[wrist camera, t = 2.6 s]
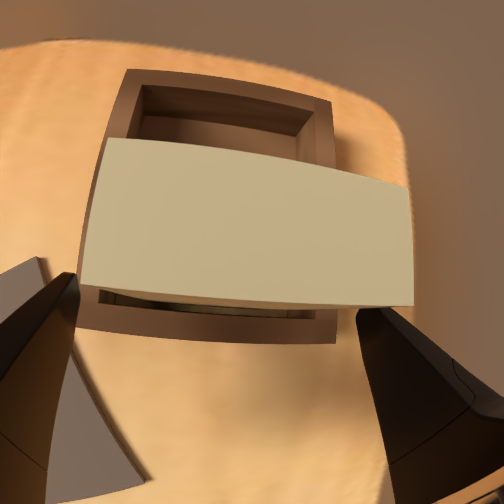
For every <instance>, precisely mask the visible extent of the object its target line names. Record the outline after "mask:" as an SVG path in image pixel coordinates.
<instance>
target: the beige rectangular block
mask: <svg viewBox="0 0 504 504" xmlns="http://www.w3.org/2000/svg"><path fill="white" fill-rule="evenodd" d="M80 284H83V285H87V286H90V287H94V288H98V289H102V290H106V291H110V292H114V293H118V294H122V295H126V296H131V297H135V298H139V299H143V300H148V301H155V302H165V303H176V304H187V305H199V306H212V307H226V308H241V309H280V310H295V309H355V308H382V307H403V306H414V268H413V243H412V227H411V215H410V204H409V195H408V188H406V187H403V186H399V185H396V184H392V183H389V182H385V181H381V180H377V179H374V178H370V177H366V176H362V175H358V174H354V173H349V172H345V171H341V170H337V169H332V168H328V167H323V166H319V165H314V164H309V163H304V162H299V161H294V160H289V159H284V158H278V157H273V156H267V155H261V154H255V153H249V152H243V151H236V150H230V149H223V148H215V147H208V146H200V145H192V144H183V143H173V142H163V141H152V140H140V139H126V138H108V140H107V143H106V147H105V151H104V154H103V158H102V162H101V166H100V170H99V174H98V179H97V183H96V187H95V192H94V197H93V202H92V207H91V212H90V217H89V223H88V229H87V235H86V241H85V248H84V255H83V263H82V272H81V281H80Z"/></svg>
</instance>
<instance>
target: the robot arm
mask: <svg viewBox="0 0 504 504" xmlns="http://www.w3.org/2000/svg"><path fill="white" fill-rule="evenodd" d="M80 301H81V294H80V289H79V284H78V278H77V275H76V274H75V273H69V272H63V273H61V274H60V275H58V276H57V277H56V278H55V279H53V280H52V281H51V282H49V283H48V284H47V285H46V286H44V287H43V288H42V289H41V290H39V291H38V292H37V293H36V294H34V295H33V296H32V297H31V298H30V299H28V300H27V301H26V302H25V303H24V304H22V305H21V306H20V307H19V308H18V309H16V310H15V311H14V312H13V313H12V314H11V315H9V316H8V317H7V318H6V319H5V320H4V321H2V322H1V323H0V504H45V500H46V486H47V475H48V472H47V471H48V465H49V457H50V449H51V442H52V436H53V430H54V424H55V419H56V413H57V408H58V403H59V399H60V394H61V389H62V385H63V381H64V377H65V372H66V368H67V365H68V361H69V357H70V353H71V349H72V344H73V339H74V333H75V327H76V322H77V317H78V311H79V306H80ZM356 325H357V331H358V336H359V341H360V347H361V353H362V358H363V362H364V366H365V370H366V373H367V377H368V381H369V385H370V388H371V392H372V396H373V400H374V404H375V408H376V412H377V416H378V420H379V424H380V429H381V433H382V438H383V442H384V447H385V451H386V456H387V461H388V465H389V471H390V476H391V482H392V487H393V493H394V498H395V504H432V503H434V502H437V501H438V504H504V397H502V396H500V395H499V394H498V393H496V392H495V391H494V390H492V389H491V388H490V387H488V386H487V385H486V384H484V383H483V382H482V381H480V380H479V379H478V378H476V377H475V376H474V375H472V374H471V373H470V372H468V371H467V370H466V369H465V368H464V367H463V366H461V365H460V364H459V363H458V362H457V361H455V360H454V359H453V358H451V357H450V356H449V355H448V354H447V353H446V352H445V351H443V350H442V349H441V348H440V347H439V346H437V345H436V344H435V343H434V342H433V341H431V340H430V339H429V338H428V337H427V336H425V335H424V334H423V333H422V332H420V331H419V330H418V329H417V328H415V327H414V326H413V325H412V324H411V323H409V322H408V321H407V320H406V319H404V318H403V317H402V316H401V315H399V314H398V313H397V312H396V311H394V310H393V309H392V308H391V307H382V308H360V309H359V311H358V313H357V315H356Z"/></svg>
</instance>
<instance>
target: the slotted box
mask: <svg viewBox="0 0 504 504" xmlns="http://www.w3.org/2000/svg"><path fill="white" fill-rule="evenodd" d="M108 138H126V139H140V140H152V141H163V142H173V143H183V144H192V145H200V146H208V147H215V148H223V149H230V150H236V151H243V152H249V153H255V154H261V155H267V156H273V157H278V158H284V159H289V160H294V161H299V162H304V163H309V164H314V165H319V166H323V167H328V168H332V169H336V153H335V139H334V126H333V115H332V104H331V102H330V101H327V100H323V99H320V98H316V97H313V96H309V95H305V94H301V93H297V92H293V91H289V90H285V89H280V88H276V87H271V86H266V85H262V84H256V83H251V82H246V81H240V80H234V79H228V78H222V77H215V76H208V75H200V74H192V73H183V72H172V71H160V70H143V69H127V71H126V73H125V76H124V78H123V81H122V84H121V86H120V89H119V92H118V95H117V97H116V100H115V103H114V106H113V109H112V112H111V115H110V118H109V121H108V125H107V128H106V131H105V135H104V138H103V141H102V145H101V148H100V152H99V156H98V160H97V163H96V167H95V171H94V176H93V180H92V184H91V189H90V193H89V198H88V203H87V208H86V213H85V218H84V224H83V230H82V236H81V242H80V249H79V256H78V264H77V272H76V275H77V278H78V284H79V289H80V294H81V301H80V306H79V311H78V317H77V322H76V327H78V328H84V329H91V330H98V331H105V332H112V333H120V334H129V335H137V336H147V337H157V338H167V339H179V340H192V341H207V342H226V343H251V344H336V330H337V309H295V310H287V318H286V317H262V316H242V315H226V314H211V313H198V312H186V311H174V310H164V309H153V308H144V307H134V306H126V305H117V304H115V301H116V293H114V292H110V291H106V290H102V289H98V288H94V287H90V286H87V285H83V284H80V281H81V272H82V263H83V255H84V248H85V241H86V235H87V229H88V223H89V217H90V212H91V207H92V202H93V197H94V192H95V187H96V183H97V179H98V174H99V170H100V166H101V162H102V158H103V154H104V151H105V147H106V143H107V140H108Z"/></svg>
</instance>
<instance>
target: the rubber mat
mask: <svg viewBox="0 0 504 504" xmlns="http://www.w3.org/2000/svg"><path fill="white" fill-rule="evenodd" d="M46 285H47V283H46V280H45V276H44V273H43V270H42V266H41V263H40V259H39V257H36V256H35V257H33V258H31V259H29V260H27V261H25V262H23V263H21V264H19V265H17V266H15V267H14V268H12V269H10V270H8V271H6V272H4V273H2V274H0V323H1V322H2V321H4V320H5V319H6V318H7V317H8V316H9V315H11V314H12V313H13V312H14V311H15V310H16V309H18V308H19V307H20V306H21V305H22V304H24V303H25V302H26V301H27V300H28V299H30V298H31V297H32V296H33V295H34V294H36V293H37V292H38V291H39V290H41V289H42V288H43V287H44V286H46ZM47 472H48V475H47V486H46V500H45V504H56V503H63V502H69V501H75V500H80V499H85V498H90V497H95V496H99V495H104V494H108V493H112V492H116V491H120V490H124V489H127V488H131V487H134V486H138V485H141V484H145V479H144V477H143V476H142V475H141V473H140V472H139V470H138V469H137V467H136V466H135V465H134V463H133V462H132V460H131V459H130V457H129V456H128V454H127V453H126V451H125V450H124V448H123V446H122V445H121V443H120V442H119V440H118V439H117V437H116V435H115V434H114V432H113V430H112V429H111V427H110V425H109V424H108V422H107V420H106V418H105V417H104V415H103V413H102V411H101V409H100V408H99V406H98V404H97V402H96V400H95V398H94V396H93V395H92V393H91V391H90V389H89V387H88V385H87V383H86V381H85V379H84V377H83V374H82V372H81V370H80V368H79V366H78V364H77V362H76V359H75V357H74V355H73V353H72V350H71V353H70V357H69V361H68V365H67V368H66V372H65V377H64V381H63V385H62V389H61V394H60V399H59V403H58V408H57V413H56V419H55V424H54V430H53V436H52V442H51V449H50V457H49V465H48V471H47Z"/></svg>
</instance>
